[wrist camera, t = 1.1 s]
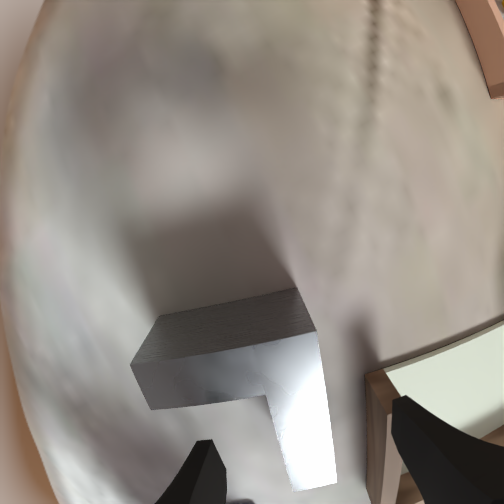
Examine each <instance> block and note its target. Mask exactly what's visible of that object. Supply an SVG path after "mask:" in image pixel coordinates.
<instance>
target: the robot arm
mask: <svg viewBox="0 0 504 504" xmlns="http://www.w3.org/2000/svg"><path fill="white" fill-rule="evenodd" d="M391 435H392V437H393V440H394V443H395V445H396V448H397V450H398V453H399V454H400V456H401V458H402V460H403V462H404V464H405V465H406V467H407V469H408V471H409V473H410V475H411V476H412V478H413V480H414V482H415V484H416V485H417V487H418V489H419V491H420V493H421V495H422V498H423V500H424V503H425V504H504V447H503V446H500V445H496V444H493V443H489V442H486V441H483V440H481V439H478V438H476V437H473V436H471V435H469V434H467V433H465V432H463V431H461V430H459V429H457V428H455V427H453V426H451V425H450V424H448V423H446V422H445V421H443V420H442V419H440V418H438V417H437V416H435V415H434V414H432V413H431V412H429V411H428V410H427V409H425V408H424V407H422V406H421V405H420V404H418V403H417V402H416V401H414V400H413V399H411V398H410V397H409V396H407V395H404V396H402V397H399V398H396V399H393V400H392V422H391ZM226 494H227V478H226V468H225V466H224V464H223V462H222V460H221V457H220V455H219V453H218V451H217V449H216V447H215V445H214V443H213V440H212V439H211V440H201V441H197V442H196V443H195V445H194V447H193V449H192V450H191V452H190V454H189V456H188V457H187V459H186V461H185V462H184V464H183V466H182V467H181V469H180V470H179V472H178V474H177V475H176V477H175V478H174V480H173V481H172V483H171V484H170V485H169V487H168V488H167V489H166V491H165V492H164V493H163V495H162V496H161V497H160V498H159V499H158V501H157V502H156V503H155V504H225V503H226Z"/></svg>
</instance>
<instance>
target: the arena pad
mask: <svg viewBox="0 0 504 504" xmlns="http://www.w3.org/2000/svg"><path fill="white" fill-rule="evenodd" d="M383 370H384V371H385V373H386V374H387V376H388V377H389V379H390V380H391V382H392V383H393V385H394V386H395V388H396V389H397V391H398V392H399V394H400V395H401V397H402V396H404V395H407V396H409V397H410V398H411V399H413V400H414V401H416V402H417V403H418V404H420V405H421V406H422V407H424V408H425V409H427V410H428V411H429V412H431V413H432V414H434V415H435V416H437V417H438V418H440V419H442V420H443V421H445V422H446V423H448V424H450V425H451V426H453V427H455V428H457V429H459V430H461V431H463V432H465V433H467V434H469V435H471V436H473V437H476V438H478V439H480V438H482V437H484V436H485V435H487V434H489V433H490V432H492V431H494V430H496V429H497V428H499V427H501V426H502V425H504V320H503V321H501V322H499V323H497V324H495V325H493V326H491V327H488V328H486V329H484V330H482V331H480V332H478V333H475V334H473V335H471V336H469V337H466V338H464V339H462V340H459V341H457V342H454V343H452V344H450V345H447V346H445V347H442V348H440V349H437V350H434V351H432V352H429V353H427V354H424V355H421V356H418V357H416V358H413V359H410V360H407V361H404V362H402V363H399V364H396V365H393V366H390V367H387V368H383ZM407 472H409V471H408V469H407V467H406V465H405V464H404V462H402V469H401V475H402V474H404V473H407Z"/></svg>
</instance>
